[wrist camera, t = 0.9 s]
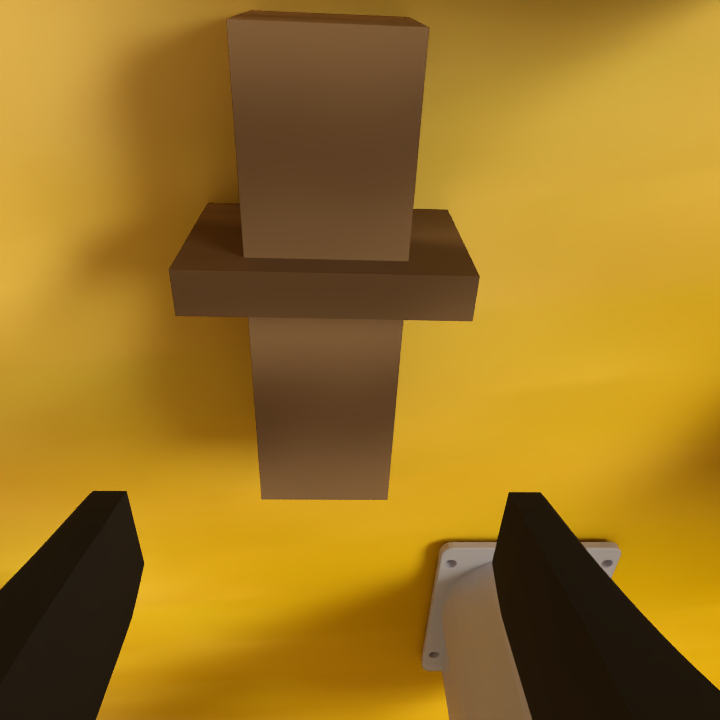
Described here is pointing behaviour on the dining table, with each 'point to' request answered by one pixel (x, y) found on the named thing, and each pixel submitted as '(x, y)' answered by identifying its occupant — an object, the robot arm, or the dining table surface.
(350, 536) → the dining table surface
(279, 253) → the brown collared bar
